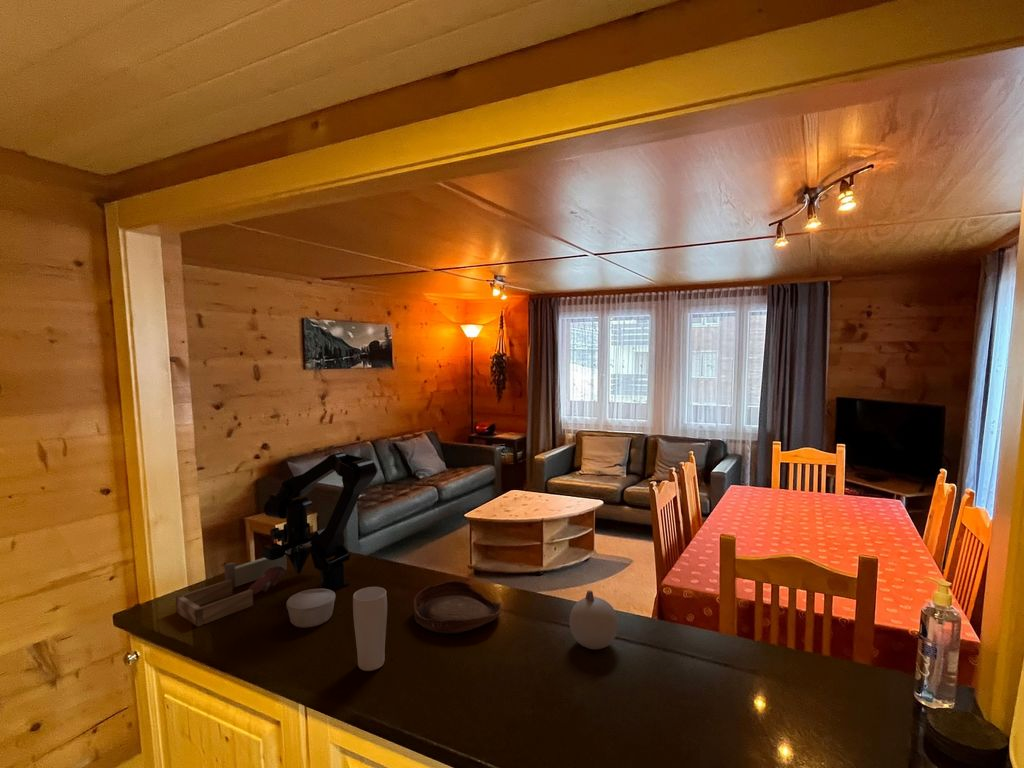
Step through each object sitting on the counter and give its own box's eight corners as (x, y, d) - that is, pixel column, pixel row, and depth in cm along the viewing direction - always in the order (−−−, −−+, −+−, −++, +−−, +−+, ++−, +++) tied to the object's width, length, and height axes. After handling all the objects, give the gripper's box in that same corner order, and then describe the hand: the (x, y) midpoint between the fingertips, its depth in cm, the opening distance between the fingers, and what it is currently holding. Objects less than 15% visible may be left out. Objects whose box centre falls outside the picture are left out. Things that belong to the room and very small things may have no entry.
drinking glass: (394, 658, 107) (393, 588, 107) (376, 677, 101) (374, 602, 100) (367, 653, 110) (365, 584, 109) (347, 671, 103) (345, 598, 103)
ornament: (560, 646, 111) (560, 592, 111) (587, 628, 119) (587, 577, 118) (600, 664, 104) (600, 607, 104) (626, 644, 112) (626, 590, 111)
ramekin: (336, 605, 132) (335, 585, 132) (335, 625, 122) (335, 604, 121) (289, 612, 129) (288, 591, 128) (284, 634, 118) (283, 611, 118)
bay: (253, 605, 132) (252, 590, 132) (197, 626, 122) (197, 610, 122) (230, 593, 140) (230, 578, 139) (176, 612, 129) (175, 596, 129)
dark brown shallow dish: (518, 617, 125) (518, 597, 125) (459, 652, 110) (459, 630, 110) (455, 591, 140) (455, 573, 139) (395, 620, 124) (395, 600, 124)
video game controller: (258, 602, 138) (267, 580, 137) (244, 593, 138) (254, 571, 137) (281, 586, 147) (290, 566, 146) (268, 578, 148) (277, 558, 147)
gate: (282, 567, 156) (282, 546, 156) (287, 569, 154) (286, 548, 154) (223, 587, 142) (222, 564, 142) (227, 590, 141) (227, 566, 140)
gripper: (310, 508, 161) (312, 557, 161) (250, 523, 146) (252, 577, 146) (331, 514, 154) (332, 565, 155) (270, 530, 139) (272, 587, 140)
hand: (298, 573), depth 149 cm, fingers closed
